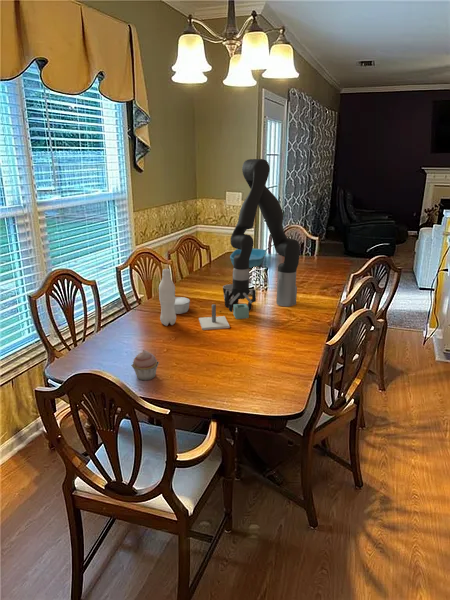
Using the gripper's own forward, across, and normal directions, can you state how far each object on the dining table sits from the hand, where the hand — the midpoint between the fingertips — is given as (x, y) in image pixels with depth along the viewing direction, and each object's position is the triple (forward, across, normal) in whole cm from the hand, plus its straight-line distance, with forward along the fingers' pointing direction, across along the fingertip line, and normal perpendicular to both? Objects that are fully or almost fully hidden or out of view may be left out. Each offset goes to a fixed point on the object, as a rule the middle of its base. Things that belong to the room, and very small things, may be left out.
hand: (240, 311), depth 208 cm
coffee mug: (+3, +1, -16) cm, 16 cm away
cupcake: (+4, +44, +50) cm, 67 cm away
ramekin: (+3, +28, -13) cm, 31 cm away
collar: (+3, 0, 0) cm, 3 cm away
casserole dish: (+2, -27, -97) cm, 101 cm away
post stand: (+3, +14, +7) cm, 16 cm away
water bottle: (+3, +34, +3) cm, 34 cm away
